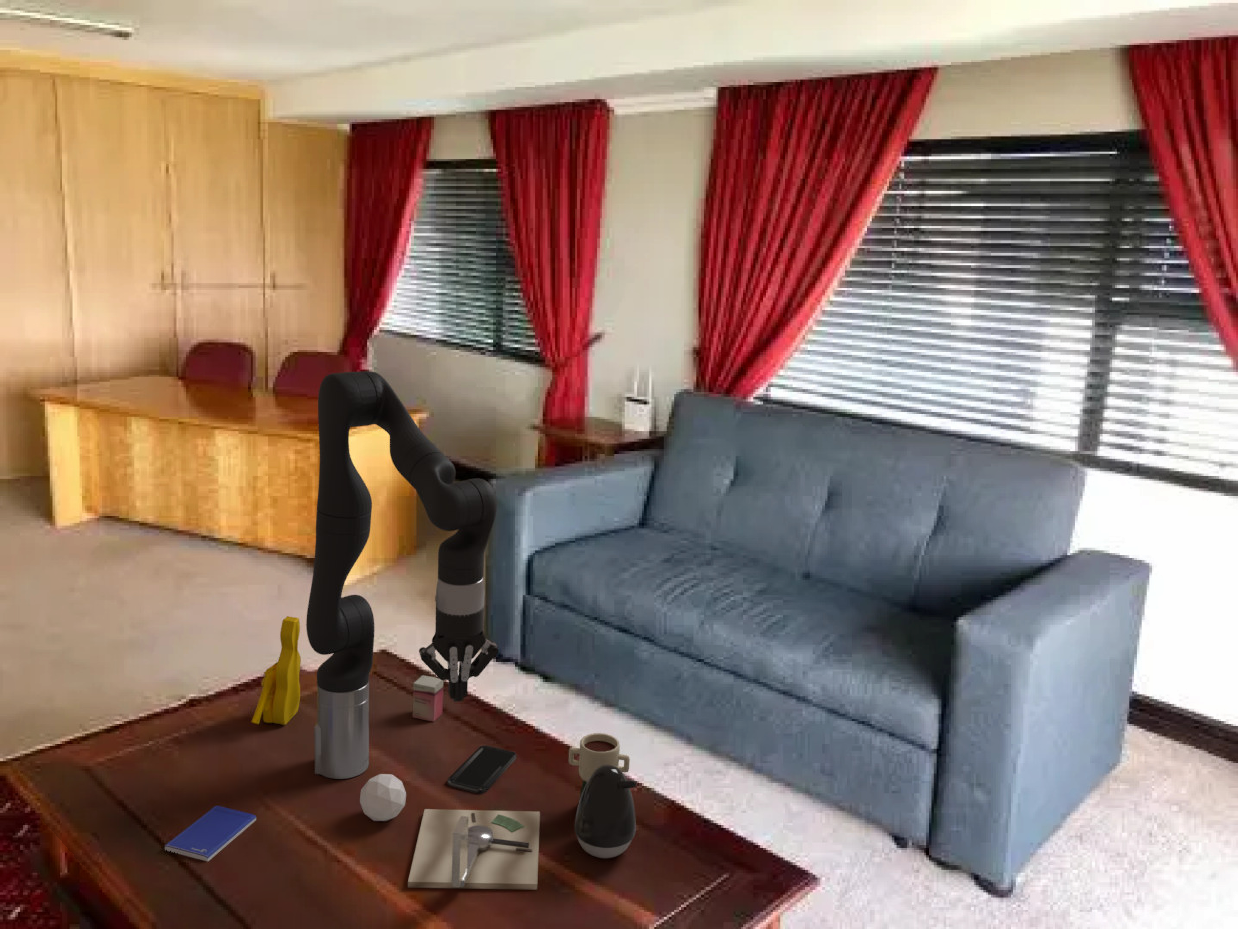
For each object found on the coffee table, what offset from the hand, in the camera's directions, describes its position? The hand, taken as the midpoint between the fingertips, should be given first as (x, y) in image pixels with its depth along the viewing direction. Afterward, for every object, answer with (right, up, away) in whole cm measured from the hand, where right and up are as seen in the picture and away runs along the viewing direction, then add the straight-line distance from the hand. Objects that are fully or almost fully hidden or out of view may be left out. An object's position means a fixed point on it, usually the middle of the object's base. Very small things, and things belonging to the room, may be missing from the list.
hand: (457, 698), depth 166 cm
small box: (-14, -14, +47) cm, 51 cm away
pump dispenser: (+24, -27, +5) cm, 36 cm away
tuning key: (+5, -26, -3) cm, 27 cm away
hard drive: (-41, -24, +3) cm, 48 cm away
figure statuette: (-42, -14, +42) cm, 61 cm away
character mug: (+22, -24, +17) cm, 36 cm away
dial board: (+3, -26, +3) cm, 26 cm away
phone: (0, -20, +27) cm, 34 cm away
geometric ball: (-15, -23, +11) cm, 29 cm away
